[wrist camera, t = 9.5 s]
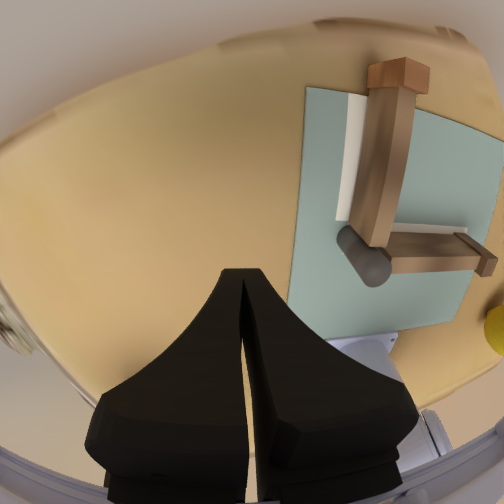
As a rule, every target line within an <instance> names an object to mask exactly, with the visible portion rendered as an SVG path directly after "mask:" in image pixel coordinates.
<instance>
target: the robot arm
mask: <svg viewBox="0 0 504 504" xmlns="http://www.w3.org/2000/svg"><path fill="white" fill-rule="evenodd" d="M397 337H398V332H397V331H392V332H385V333H377V334H369V335H360V336H351V337H341V338H330V339H326V340H324V339H323V338H321V337H320V336H319V335H317V334H316V333H315V332H314V331H313V330H312V329H310V328H309V327H308V326H307V325H306V324H305V323H304V322H303V321H302V320H301V319H300V318H299V317H298V316H297V315H296V314H295V313H294V312H293V311H292V310H291V309H290V308H289V306H288V305H287V304H286V303H285V302H284V301H283V299H282V298H281V297H280V296H279V295H278V293H277V292H276V291H275V289H274V288H273V287H272V285H271V284H270V282H269V281H268V280H267V278H266V276H265V275H264V273H263V272H262V270H261V269H260V268H234V269H224V270H222V271H221V275H220V277H219V280H218V282H217V284H216V286H215V288H214V289H213V291H212V293H211V294H210V296H209V298H208V299H207V301H206V303H205V304H204V306H203V307H202V308H201V310H200V311H199V313H198V314H197V315H196V317H195V318H194V319H193V321H192V322H191V323H190V324H189V326H188V327H187V328H186V329H185V330H184V331H183V333H182V334H181V335H180V336H179V337H178V338H177V339H176V340H175V341H174V342H173V343H172V344H171V345H170V346H169V347H168V348H167V349H166V350H165V351H164V352H163V353H161V354H160V355H159V356H158V357H157V358H156V359H154V360H153V361H152V362H151V363H149V364H148V365H147V366H145V367H144V368H143V369H142V370H140V371H139V372H138V373H136V374H135V375H134V376H132V377H131V378H129V379H127V380H126V381H124V382H123V383H121V384H119V385H118V386H116V387H114V388H113V389H111V390H109V391H107V392H106V393H104V394H102V396H101V398H100V400H99V402H98V404H97V406H96V408H95V411H94V413H93V416H92V419H91V422H90V426H89V429H88V433H87V436H86V440H85V444H84V445H85V449H86V451H87V452H88V454H89V455H90V456H91V457H92V458H93V459H94V460H95V461H96V462H97V463H98V464H100V465H101V466H102V467H103V468H104V469H106V471H108V472H109V473H110V474H111V476H110V482H109V488H105V487H101V486H97V485H94V484H91V483H87V482H84V481H81V480H78V479H75V478H72V477H69V476H66V475H63V474H61V473H58V472H55V471H53V470H50V469H48V468H45V467H43V466H40V465H38V464H36V463H34V462H31V461H29V460H27V459H25V458H23V457H21V456H19V455H17V454H15V453H13V452H11V451H9V450H7V449H5V448H3V447H1V446H0V504H497V503H498V502H499V501H500V500H501V499H502V498H503V497H504V417H503V418H502V419H501V420H500V421H499V422H498V423H497V424H496V425H495V427H493V428H491V429H490V430H488V431H487V432H485V433H483V434H482V435H480V436H478V437H477V438H475V439H473V440H472V441H470V442H468V443H466V444H465V445H462V446H460V447H459V448H457V449H455V450H453V449H452V446H451V443H450V441H449V438H448V436H447V434H446V431H445V429H444V427H443V425H442V423H441V421H440V420H439V417H438V415H437V414H436V412H435V411H432V410H428V409H425V410H423V411H422V412H421V413H422V415H423V418H424V420H425V423H424V421H423V419H422V417H421V415H420V413H419V410H418V408H417V406H416V405H415V404H414V402H413V399H412V397H411V395H410V393H409V392H408V390H407V388H406V386H405V384H404V382H403V380H402V378H401V376H400V374H399V372H398V370H397V368H396V366H395V364H394V363H393V361H392V359H391V357H390V355H389V354H390V352H391V350H392V348H393V346H394V343H395V341H396V339H397ZM242 339H243V346H244V352H245V358H246V364H247V370H248V376H249V382H250V389H251V397H252V411H253V427H254V443H255V460H256V478H257V497H258V502H255V503H245V493H246V487H247V477H248V465H249V439H248V425H247V416H246V406H245V396H244V386H243V374H242V362H241V348H242ZM425 424H426V425H425ZM426 426H427V428H426ZM427 429H428V430H427ZM428 431H429V432H428ZM438 455H439V456H438Z"/></svg>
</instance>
